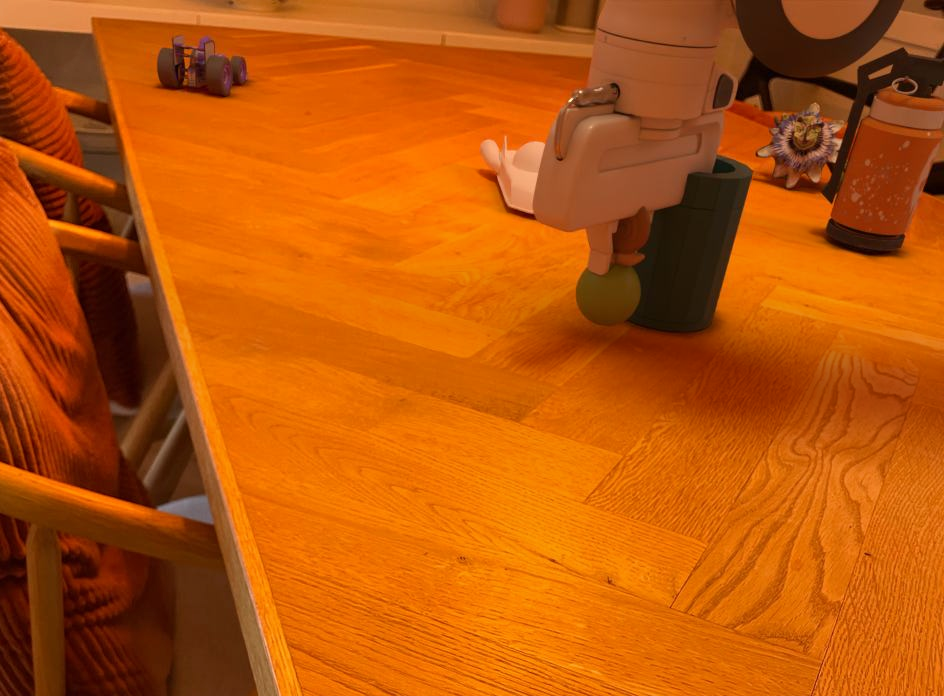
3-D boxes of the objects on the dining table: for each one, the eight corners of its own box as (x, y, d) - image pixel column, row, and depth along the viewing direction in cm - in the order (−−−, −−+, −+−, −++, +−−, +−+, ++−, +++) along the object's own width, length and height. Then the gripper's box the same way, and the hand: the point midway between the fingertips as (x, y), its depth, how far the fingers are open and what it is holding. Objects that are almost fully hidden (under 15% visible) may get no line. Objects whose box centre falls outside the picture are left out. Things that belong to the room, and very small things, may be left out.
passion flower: (778, 228, 140) (749, 149, 133) (777, 194, 147) (751, 117, 140) (861, 194, 134) (836, 109, 127) (856, 160, 141) (833, 78, 134)
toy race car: (257, 81, 152) (256, 32, 148) (222, 99, 140) (220, 46, 136) (198, 72, 152) (195, 23, 148) (157, 88, 141) (153, 35, 137)
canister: (898, 261, 114) (973, 64, 101) (802, 241, 116) (863, 45, 104) (900, 242, 121) (970, 55, 108) (809, 223, 123) (868, 37, 110)
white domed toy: (499, 217, 110) (506, 161, 106) (477, 169, 125) (482, 118, 122) (589, 224, 112) (599, 169, 108) (556, 176, 127) (564, 126, 123)
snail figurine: (580, 303, 88) (608, 158, 80) (643, 325, 85) (678, 178, 78) (548, 317, 84) (574, 167, 77) (613, 342, 82) (647, 189, 74)
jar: (730, 318, 93) (772, 170, 85) (677, 340, 87) (716, 184, 79) (646, 286, 97) (678, 142, 89) (589, 305, 91) (618, 153, 83)
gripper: (602, 100, 65) (566, 306, 74) (749, 82, 78) (704, 259, 87) (528, 79, 68) (501, 280, 77) (682, 65, 81) (645, 238, 90)
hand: (610, 268), depth 82 cm, fingers closed on snail figurine
